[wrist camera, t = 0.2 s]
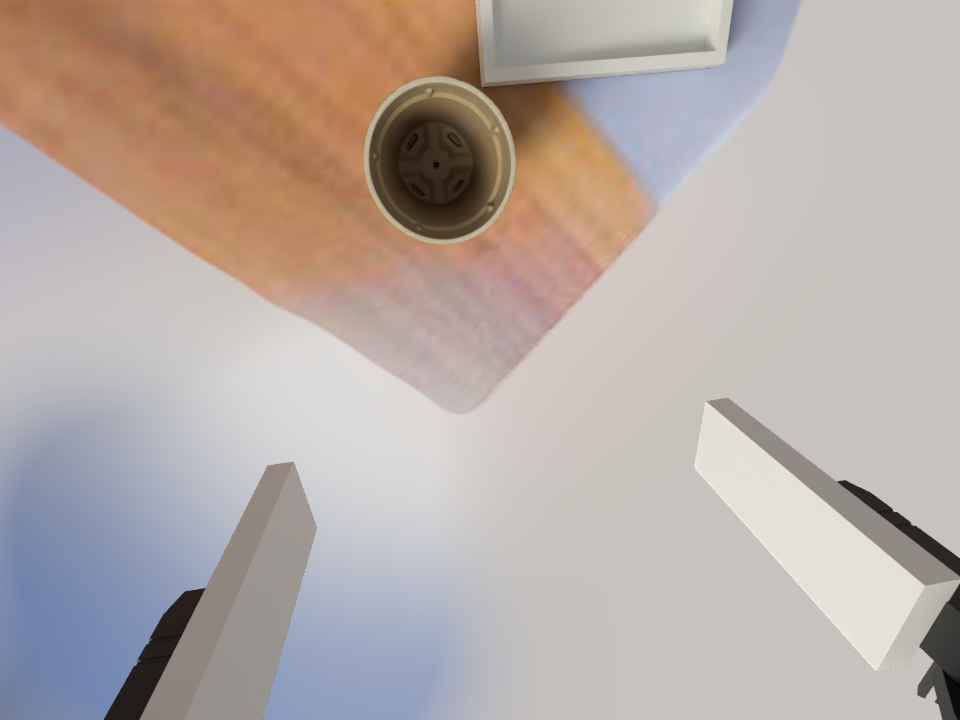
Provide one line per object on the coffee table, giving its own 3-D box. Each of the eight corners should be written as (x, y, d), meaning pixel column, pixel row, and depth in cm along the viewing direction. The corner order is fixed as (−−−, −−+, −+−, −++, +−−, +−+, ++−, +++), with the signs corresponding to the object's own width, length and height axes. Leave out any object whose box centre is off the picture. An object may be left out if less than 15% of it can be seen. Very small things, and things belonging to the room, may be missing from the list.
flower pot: (510, 121, 33) (537, 109, 25) (476, 239, 37) (491, 260, 29) (390, 76, 31) (381, 48, 23) (366, 207, 34) (351, 221, 27)
